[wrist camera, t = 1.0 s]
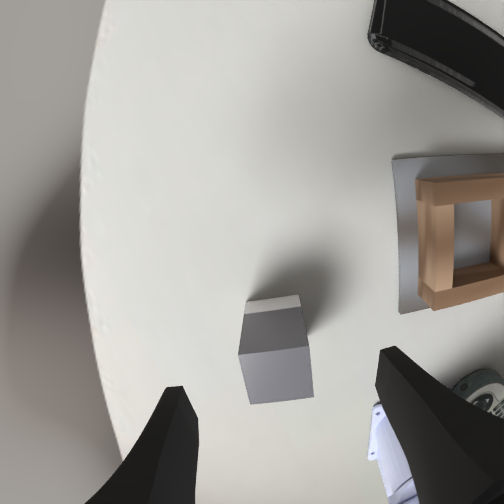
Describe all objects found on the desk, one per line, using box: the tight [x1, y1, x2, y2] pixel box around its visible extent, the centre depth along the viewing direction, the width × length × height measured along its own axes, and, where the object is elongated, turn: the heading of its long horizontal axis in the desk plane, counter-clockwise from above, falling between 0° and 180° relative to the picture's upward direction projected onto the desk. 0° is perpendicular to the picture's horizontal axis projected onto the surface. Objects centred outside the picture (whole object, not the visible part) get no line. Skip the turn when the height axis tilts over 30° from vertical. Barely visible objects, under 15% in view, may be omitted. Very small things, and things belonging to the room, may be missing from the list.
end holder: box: [392, 154, 504, 314], centre depth 20 cm, size 12×12×4 cm
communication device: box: [452, 369, 504, 419], centre depth 24 cm, size 12×24×9 cm, turn 46°
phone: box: [368, 0, 504, 119], centre depth 17 cm, size 8×1×15 cm
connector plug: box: [238, 294, 314, 404], centre depth 21 cm, size 4×4×7 cm
